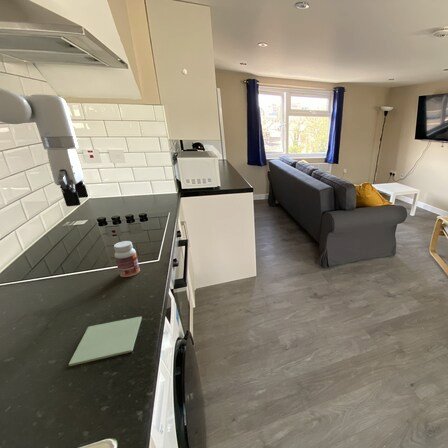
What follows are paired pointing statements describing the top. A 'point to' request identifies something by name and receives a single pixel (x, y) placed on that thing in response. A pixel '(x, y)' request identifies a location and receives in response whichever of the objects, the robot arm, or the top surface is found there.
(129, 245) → the pill bottle
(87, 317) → the top surface
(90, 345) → the mat
